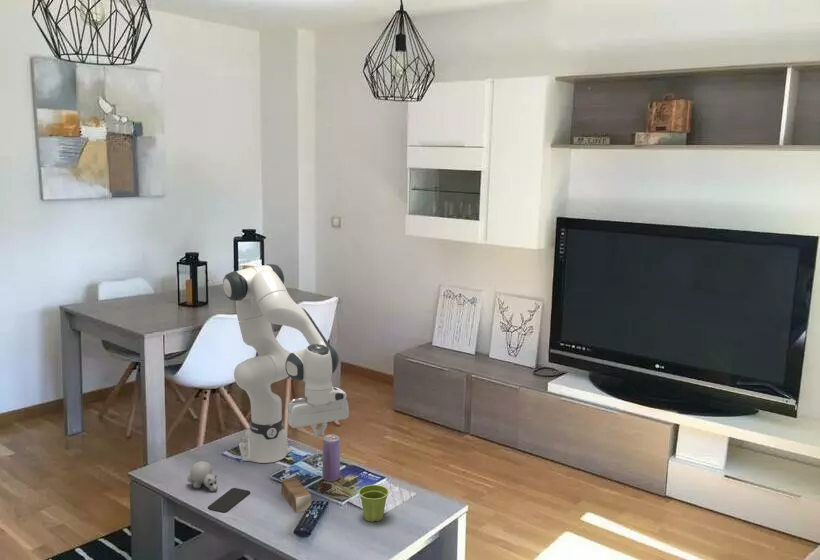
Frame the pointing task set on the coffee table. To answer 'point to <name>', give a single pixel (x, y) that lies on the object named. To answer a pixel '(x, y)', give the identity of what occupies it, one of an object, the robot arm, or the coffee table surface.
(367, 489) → the plant pot
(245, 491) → the phone
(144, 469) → the coffee table surface
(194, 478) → the round bodied animal figurine
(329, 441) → the beverage can
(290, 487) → the walnut block
